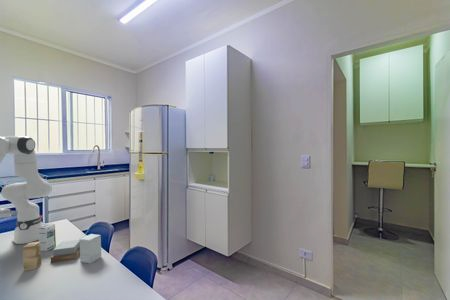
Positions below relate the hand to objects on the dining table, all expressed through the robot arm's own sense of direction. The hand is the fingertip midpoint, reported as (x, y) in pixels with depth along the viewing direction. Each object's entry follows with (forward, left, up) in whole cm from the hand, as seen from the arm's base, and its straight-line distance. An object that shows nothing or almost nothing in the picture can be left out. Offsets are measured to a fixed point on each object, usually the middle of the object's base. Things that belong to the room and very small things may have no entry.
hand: (14, 213), depth 110 cm
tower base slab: (-6, +21, -29) cm, 36 cm away
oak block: (+2, +8, -28) cm, 29 cm away
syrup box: (-20, +5, -28) cm, 35 cm away
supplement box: (+3, +35, -28) cm, 45 cm away
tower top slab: (-6, +21, -25) cm, 33 cm away
